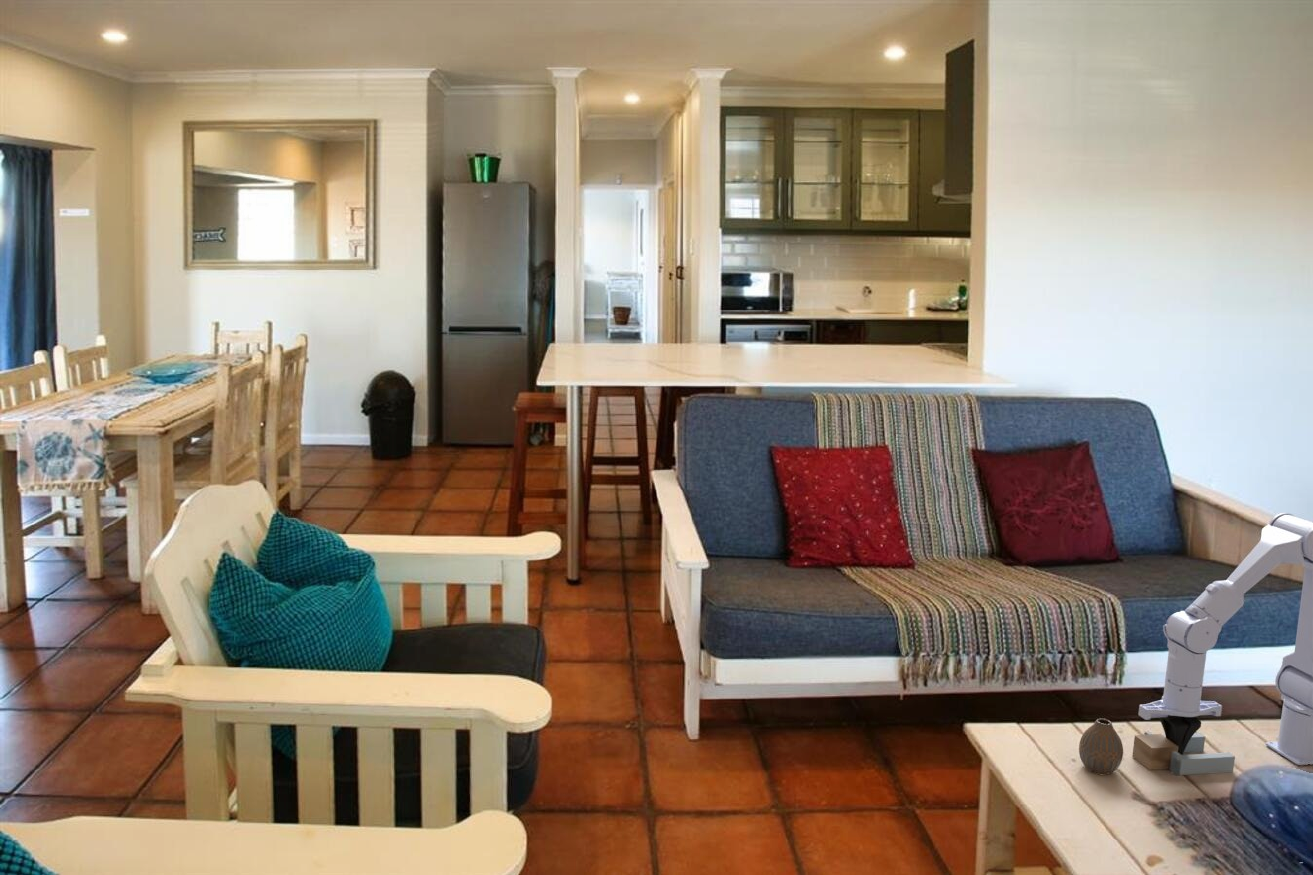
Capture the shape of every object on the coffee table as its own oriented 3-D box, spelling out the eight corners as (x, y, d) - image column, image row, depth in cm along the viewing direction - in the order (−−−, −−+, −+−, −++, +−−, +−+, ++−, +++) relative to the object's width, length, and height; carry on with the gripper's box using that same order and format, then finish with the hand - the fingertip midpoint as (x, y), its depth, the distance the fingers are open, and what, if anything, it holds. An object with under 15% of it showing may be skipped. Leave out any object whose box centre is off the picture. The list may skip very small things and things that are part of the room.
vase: (1112, 761, 177) (1118, 714, 176) (1126, 780, 171) (1132, 732, 169) (1072, 758, 178) (1076, 711, 177) (1084, 777, 171) (1089, 729, 170)
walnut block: (1158, 755, 180) (1160, 733, 179) (1175, 768, 175) (1178, 746, 174) (1132, 756, 179) (1134, 735, 178) (1149, 769, 174) (1152, 748, 174)
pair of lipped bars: (1197, 747, 183) (1200, 728, 183) (1233, 771, 175) (1235, 752, 174) (1142, 750, 182) (1144, 731, 181) (1175, 775, 173) (1177, 755, 172)
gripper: (1205, 670, 180) (1196, 742, 183) (1131, 673, 178) (1123, 745, 180) (1234, 687, 173) (1224, 760, 176) (1157, 690, 171) (1148, 765, 173)
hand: (1174, 754), depth 178 cm, fingers closed
